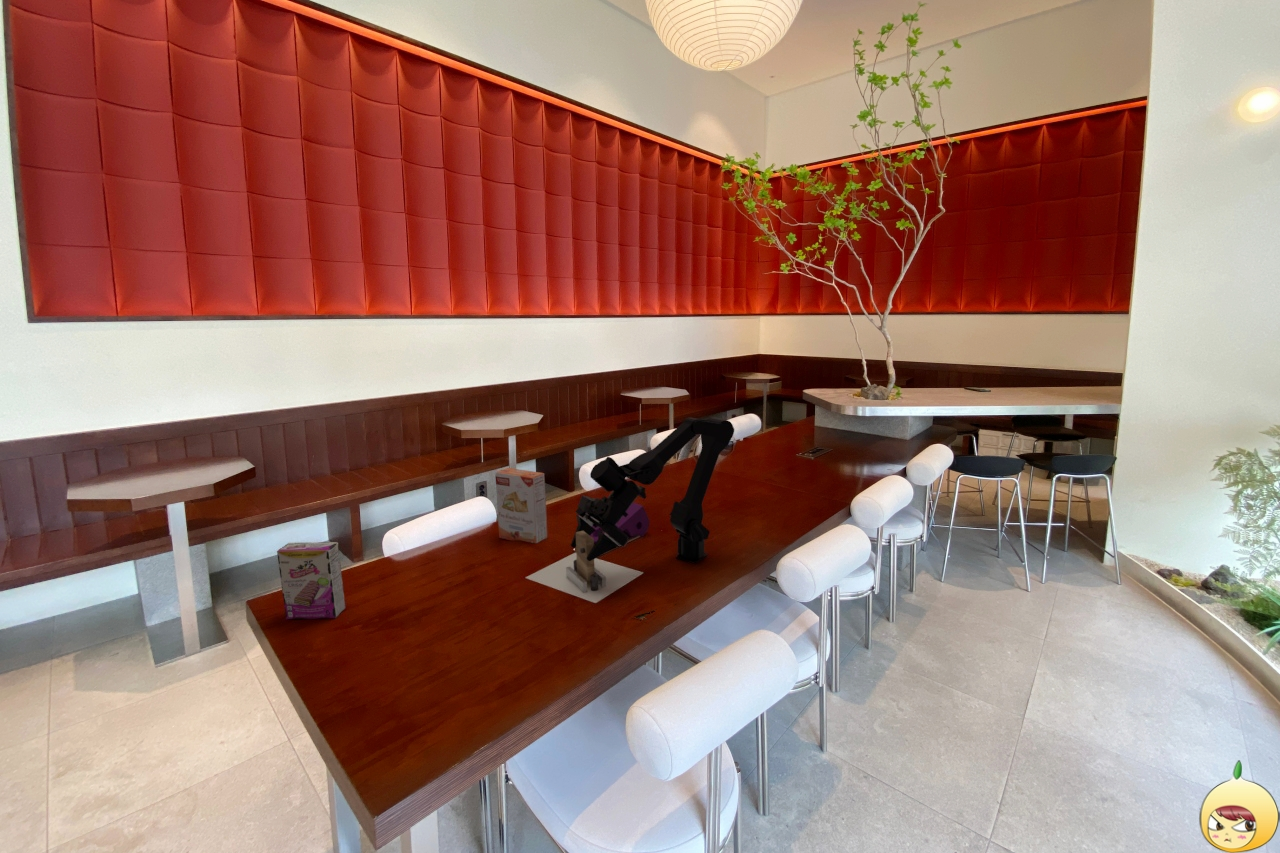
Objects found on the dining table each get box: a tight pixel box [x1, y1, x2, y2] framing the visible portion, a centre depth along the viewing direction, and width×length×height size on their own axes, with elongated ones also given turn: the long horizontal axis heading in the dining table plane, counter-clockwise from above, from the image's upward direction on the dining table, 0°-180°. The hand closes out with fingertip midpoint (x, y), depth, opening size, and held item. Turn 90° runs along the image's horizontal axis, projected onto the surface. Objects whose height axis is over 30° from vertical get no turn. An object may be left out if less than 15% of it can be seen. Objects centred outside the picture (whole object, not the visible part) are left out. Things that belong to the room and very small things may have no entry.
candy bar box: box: [276, 541, 346, 620], centre depth 129 cm, size 11×5×16 cm, turn 92°
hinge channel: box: [566, 560, 606, 593], centre depth 142 cm, size 6×12×4 cm, turn 30°
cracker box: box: [495, 467, 548, 544], centre depth 170 cm, size 14×6×21 cm, turn 62°
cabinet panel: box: [525, 552, 644, 604], centre depth 146 cm, size 23×19×1 cm
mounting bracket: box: [590, 501, 650, 544], centre depth 173 cm, size 9×8×18 cm
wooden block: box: [575, 531, 595, 587], centre depth 141 cm, size 3×6×12 cm, turn 30°
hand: (579, 553), depth 140 cm, fingers open, 9 cm apart
